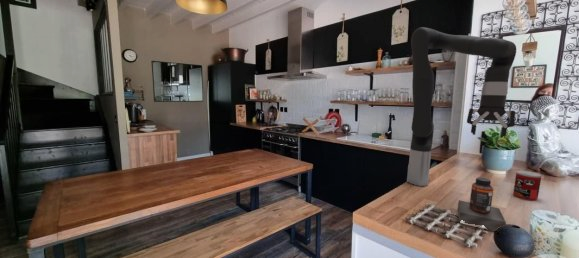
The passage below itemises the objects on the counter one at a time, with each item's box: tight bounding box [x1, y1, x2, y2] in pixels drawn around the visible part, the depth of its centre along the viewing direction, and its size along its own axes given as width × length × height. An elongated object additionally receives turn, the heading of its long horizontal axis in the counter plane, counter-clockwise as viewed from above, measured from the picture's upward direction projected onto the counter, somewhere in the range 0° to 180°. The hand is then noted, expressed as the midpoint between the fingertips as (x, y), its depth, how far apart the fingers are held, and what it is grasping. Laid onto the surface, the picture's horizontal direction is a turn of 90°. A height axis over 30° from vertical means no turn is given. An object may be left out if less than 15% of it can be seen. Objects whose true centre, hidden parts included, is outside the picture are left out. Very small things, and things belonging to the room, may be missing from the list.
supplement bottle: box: [469, 177, 494, 213], centre depth 85 cm, size 6×6×11 cm
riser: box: [457, 200, 507, 233], centre depth 86 cm, size 12×12×4 cm
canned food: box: [513, 170, 542, 201], centre depth 108 cm, size 8×8×11 cm
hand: (487, 135), depth 96 cm, fingers open, 8 cm apart
